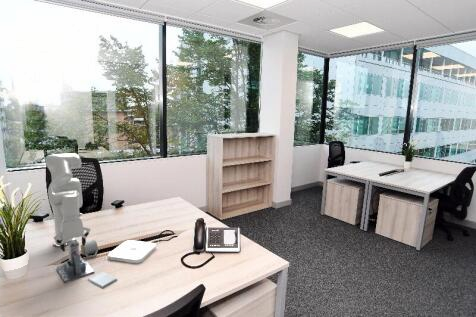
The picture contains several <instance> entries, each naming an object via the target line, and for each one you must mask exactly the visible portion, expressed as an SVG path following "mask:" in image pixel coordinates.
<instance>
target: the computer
mask: <svg viewBox="0 0 476 317" xmlns="http://www.w3.org/2000/svg"><path fill="white" fill-rule="evenodd" d="M156 247H157V245H156V243H154V242H147V241H141V240H133V239H132V240H131V239H130V240H128V239H127V240H126V241H124V242H122V243H121V244H119V245H118V246H117V247H116V248H114V249H113V250H112V251H110V252H109V253H108V256H107V257H108V260H110V261H115V260H117V262H122V261H125V262H124V263H131V264H139V263H142V262H144V260H145V259H146V258H147V257H148V256H150V255H151V254H152V253H153V252H154V251H155V250H156Z"/></svg>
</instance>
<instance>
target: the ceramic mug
mask: <svg viewBox="0 0 476 317" xmlns="http://www.w3.org/2000/svg"><path fill="white" fill-rule="evenodd" d="M80 251H81V254H82V256H86V257H87V258H89V259H92V258H94V257H96V256H97V253H98V252H99V247H98V243H97V241H96V239H92V240H89V241H86V243H85V246H83V245H82V244H81V245H80ZM92 254H93V255H92Z"/></svg>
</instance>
